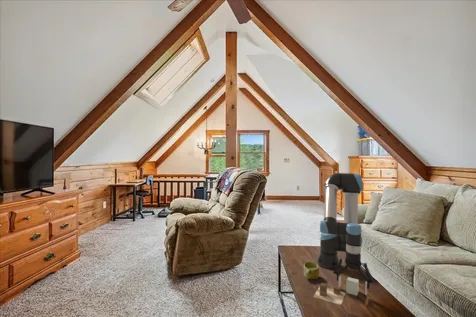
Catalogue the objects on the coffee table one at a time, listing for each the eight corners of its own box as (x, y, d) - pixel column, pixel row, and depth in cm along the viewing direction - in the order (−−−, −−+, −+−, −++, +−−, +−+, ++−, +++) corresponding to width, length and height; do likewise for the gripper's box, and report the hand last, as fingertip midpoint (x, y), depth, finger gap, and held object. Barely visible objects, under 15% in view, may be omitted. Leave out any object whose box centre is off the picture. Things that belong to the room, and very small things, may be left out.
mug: (307, 268, 171) (310, 256, 167) (320, 278, 164) (324, 266, 160) (296, 277, 163) (298, 265, 159) (309, 288, 156) (312, 276, 152)
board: (319, 287, 150) (320, 280, 150) (345, 294, 143) (345, 287, 143) (313, 298, 138) (313, 291, 138) (341, 307, 131) (341, 299, 131)
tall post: (321, 292, 142) (321, 282, 142) (326, 294, 141) (326, 284, 141) (319, 295, 140) (319, 285, 140) (325, 296, 138) (325, 286, 138)
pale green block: (347, 290, 148) (348, 277, 147) (358, 293, 145) (358, 279, 145) (346, 294, 143) (346, 281, 143) (357, 297, 140) (357, 283, 140)
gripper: (328, 249, 147) (327, 286, 147) (378, 259, 134) (377, 300, 134) (331, 245, 153) (330, 281, 153) (379, 254, 140) (378, 294, 140)
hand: (352, 290), depth 143 cm, fingers open, 13 cm apart
